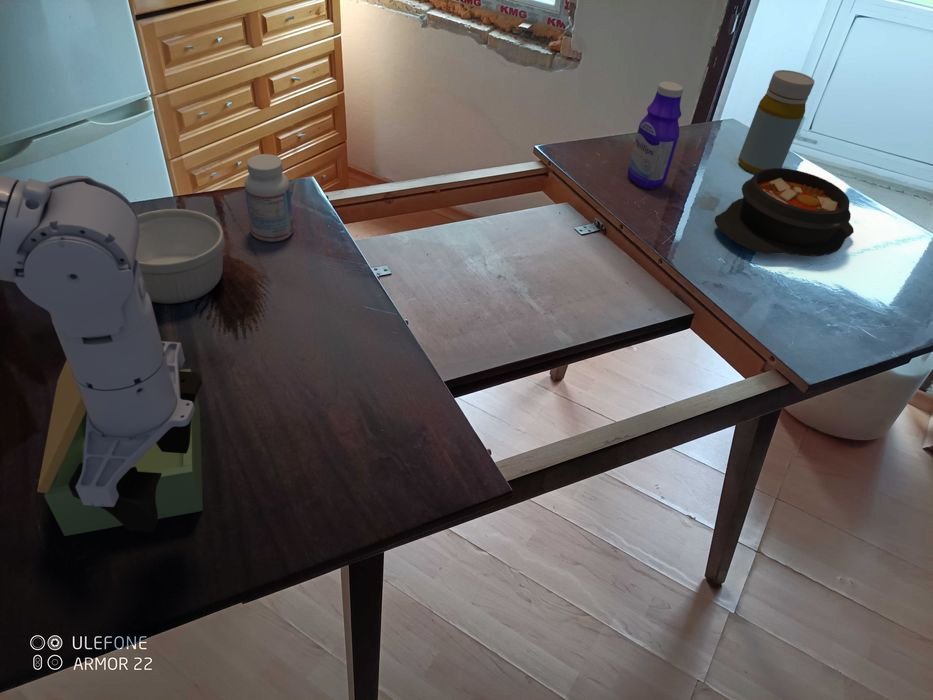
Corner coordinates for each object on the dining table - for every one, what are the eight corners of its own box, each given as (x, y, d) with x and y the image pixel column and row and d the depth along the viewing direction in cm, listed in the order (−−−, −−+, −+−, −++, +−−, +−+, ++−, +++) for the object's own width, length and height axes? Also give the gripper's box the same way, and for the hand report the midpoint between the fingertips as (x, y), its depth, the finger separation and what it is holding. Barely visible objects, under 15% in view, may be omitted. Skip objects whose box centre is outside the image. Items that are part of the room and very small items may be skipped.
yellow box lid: (109, 285, 61) (99, 282, 61) (96, 390, 51) (84, 387, 51) (66, 382, 66) (57, 380, 66) (47, 493, 57) (36, 492, 56)
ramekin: (242, 257, 95) (235, 213, 91) (213, 315, 85) (204, 269, 81) (145, 248, 95) (133, 203, 90) (104, 306, 85) (89, 259, 80)
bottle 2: (728, 163, 134) (762, 73, 122) (751, 154, 138) (785, 66, 127) (764, 180, 129) (802, 88, 118) (787, 171, 134) (826, 81, 122)
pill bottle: (266, 217, 103) (258, 147, 96) (301, 228, 102) (296, 158, 95) (242, 236, 99) (231, 164, 92) (278, 247, 98) (271, 175, 90)
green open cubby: (199, 408, 73) (190, 368, 70) (202, 510, 64) (192, 471, 60) (80, 425, 70) (63, 384, 66) (64, 536, 61) (43, 496, 57)
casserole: (767, 279, 103) (789, 231, 98) (686, 218, 115) (702, 172, 110) (875, 250, 113) (901, 205, 107) (790, 197, 125) (810, 154, 120)
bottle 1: (619, 175, 125) (644, 79, 114) (643, 170, 128) (670, 76, 116) (645, 193, 121) (673, 95, 109) (669, 188, 123) (699, 92, 112)
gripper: (139, 447, 41) (180, 570, 50) (211, 301, 52) (234, 423, 61) (18, 439, 40) (81, 564, 49) (115, 293, 51) (153, 417, 60)
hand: (159, 486), depth 55 cm, fingers open, 7 cm apart
